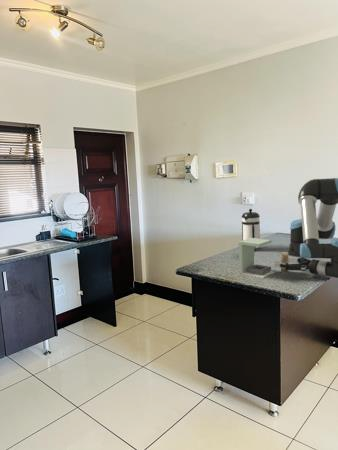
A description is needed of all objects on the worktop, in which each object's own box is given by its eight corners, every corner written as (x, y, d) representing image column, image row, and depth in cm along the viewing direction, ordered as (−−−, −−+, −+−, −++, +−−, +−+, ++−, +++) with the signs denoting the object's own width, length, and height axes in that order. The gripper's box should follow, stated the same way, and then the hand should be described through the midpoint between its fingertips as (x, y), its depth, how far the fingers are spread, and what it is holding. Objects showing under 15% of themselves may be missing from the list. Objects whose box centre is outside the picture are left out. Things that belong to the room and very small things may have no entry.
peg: (288, 271, 196) (288, 252, 194) (288, 273, 192) (288, 253, 190) (280, 270, 197) (280, 252, 195) (281, 272, 193) (281, 253, 191)
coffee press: (265, 251, 245) (265, 209, 240) (242, 252, 245) (242, 210, 240) (259, 245, 262) (259, 206, 257) (238, 246, 262) (237, 207, 257)
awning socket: (274, 272, 194) (274, 240, 192) (262, 278, 185) (262, 244, 183) (251, 268, 205) (251, 237, 202) (239, 273, 196) (238, 241, 193)
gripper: (309, 280, 172) (270, 273, 187) (328, 268, 189) (291, 262, 204) (309, 265, 171) (270, 259, 185) (328, 255, 188) (291, 250, 203)
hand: (281, 261), depth 195 cm, fingers open, 13 cm apart
